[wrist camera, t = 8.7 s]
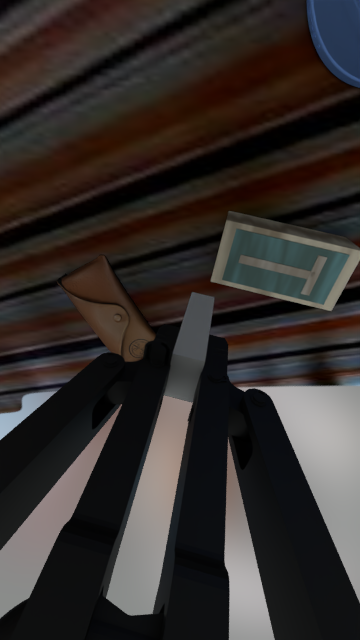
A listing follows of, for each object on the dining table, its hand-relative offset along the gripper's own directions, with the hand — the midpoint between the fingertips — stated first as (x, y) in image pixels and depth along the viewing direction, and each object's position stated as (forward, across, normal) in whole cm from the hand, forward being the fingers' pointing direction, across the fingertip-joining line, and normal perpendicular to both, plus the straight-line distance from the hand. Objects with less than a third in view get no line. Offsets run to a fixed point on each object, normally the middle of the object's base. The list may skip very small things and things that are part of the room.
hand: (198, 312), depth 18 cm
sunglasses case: (+21, +12, +15) cm, 28 cm away
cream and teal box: (+17, -1, 0) cm, 17 cm away
